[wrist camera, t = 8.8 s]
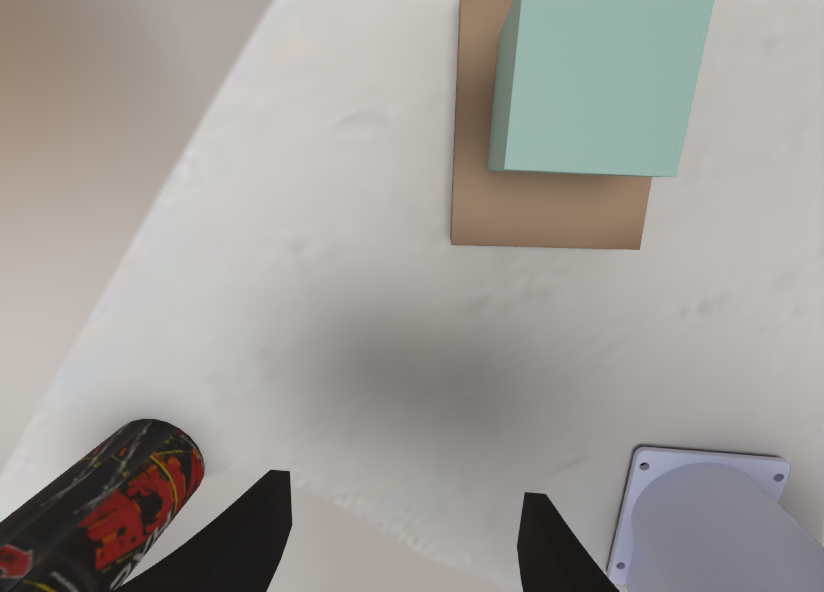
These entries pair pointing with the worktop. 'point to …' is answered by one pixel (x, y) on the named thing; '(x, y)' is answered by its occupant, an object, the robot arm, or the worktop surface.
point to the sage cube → (596, 86)
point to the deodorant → (101, 512)
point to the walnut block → (518, 191)
